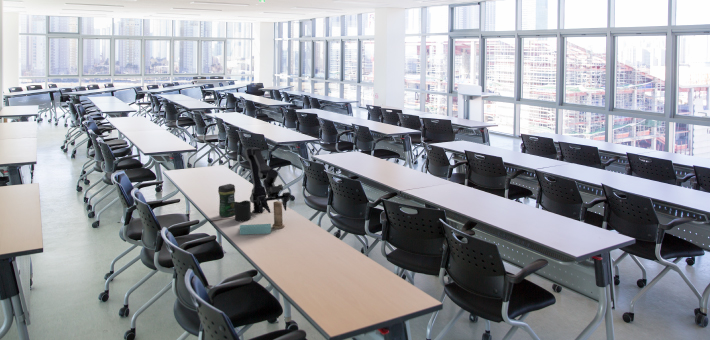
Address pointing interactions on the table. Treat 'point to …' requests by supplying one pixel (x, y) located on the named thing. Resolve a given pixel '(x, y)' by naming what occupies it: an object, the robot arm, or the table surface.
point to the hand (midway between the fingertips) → (277, 211)
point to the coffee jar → (226, 200)
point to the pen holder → (242, 210)
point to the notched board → (255, 229)
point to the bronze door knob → (278, 215)
